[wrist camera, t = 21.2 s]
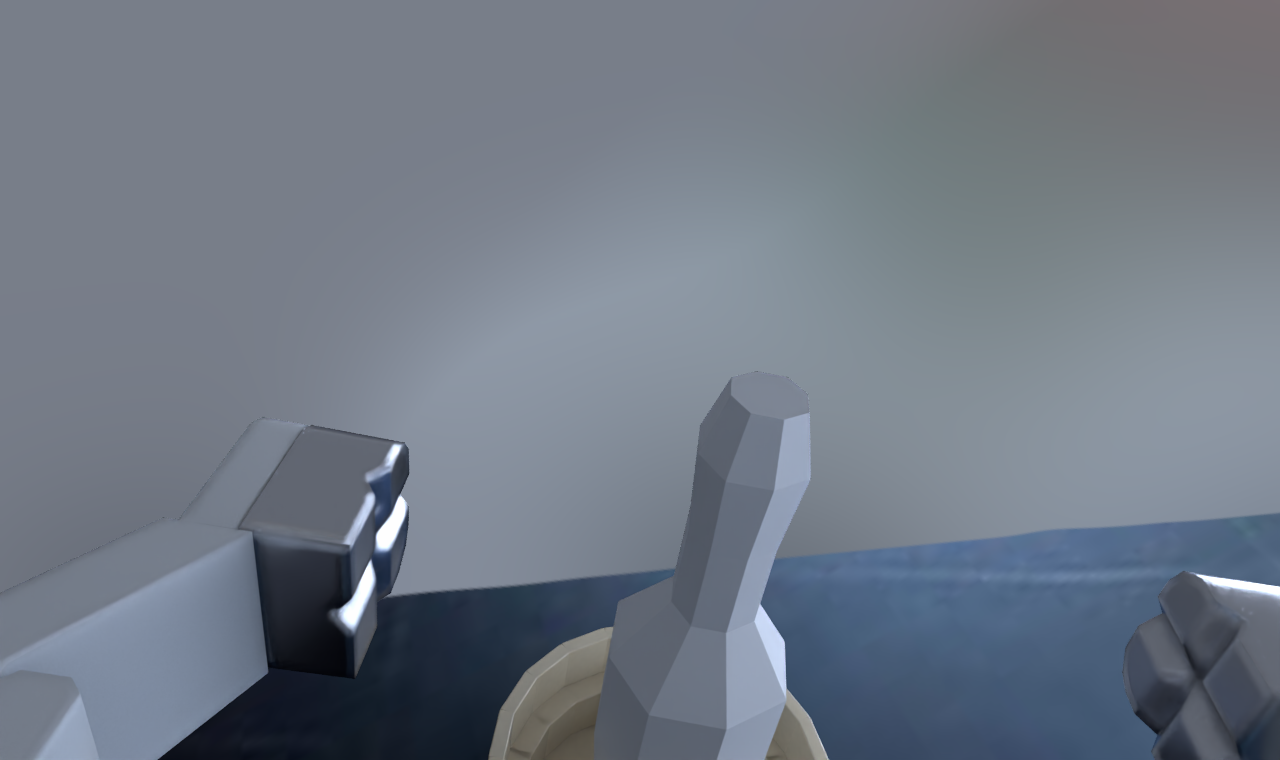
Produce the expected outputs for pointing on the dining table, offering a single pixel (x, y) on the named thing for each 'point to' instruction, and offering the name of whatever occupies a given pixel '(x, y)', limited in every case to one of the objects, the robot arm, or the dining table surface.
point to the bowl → (568, 705)
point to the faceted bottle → (714, 594)
